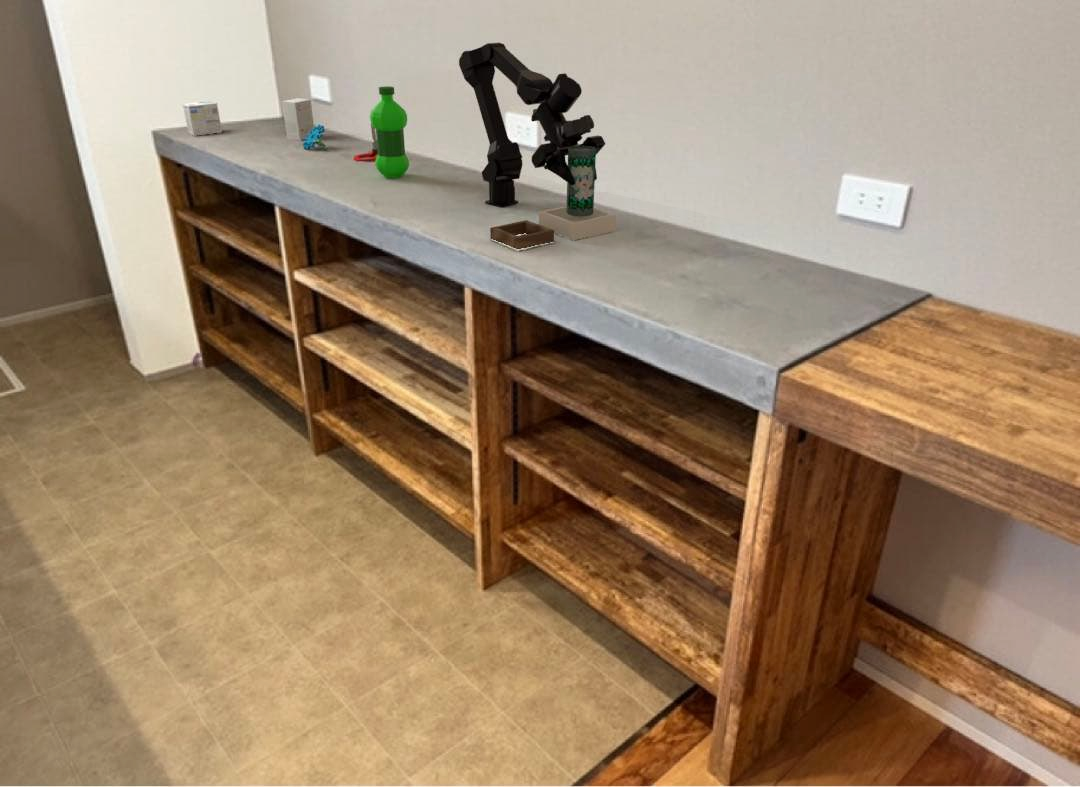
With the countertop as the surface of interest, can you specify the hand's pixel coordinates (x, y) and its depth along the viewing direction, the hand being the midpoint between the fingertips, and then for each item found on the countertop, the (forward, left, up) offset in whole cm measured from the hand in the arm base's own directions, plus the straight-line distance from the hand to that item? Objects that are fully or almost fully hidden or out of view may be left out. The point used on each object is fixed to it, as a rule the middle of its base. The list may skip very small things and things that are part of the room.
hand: (584, 182), depth 192 cm
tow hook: (-102, +15, -12) cm, 104 cm away
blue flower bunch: (-128, +13, -12) cm, 129 cm away
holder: (-5, -16, -12) cm, 20 cm away
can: (-1, 0, -8) cm, 8 cm away
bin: (-2, 0, -12) cm, 12 cm away
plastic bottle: (-77, +5, -12) cm, 78 cm away
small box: (-147, +20, -12) cm, 149 cm away
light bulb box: (-180, +1, -12) cm, 181 cm away
